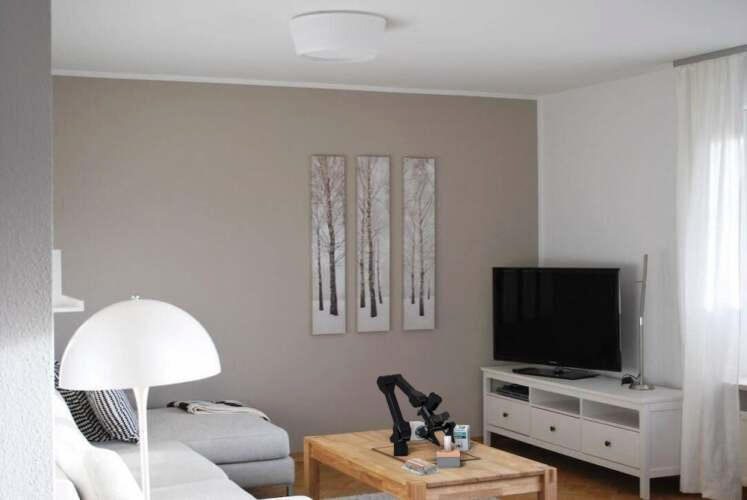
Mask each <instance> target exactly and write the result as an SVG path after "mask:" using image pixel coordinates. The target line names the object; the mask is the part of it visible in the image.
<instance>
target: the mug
mask: <svg viewBox="0 0 747 500" xmlns="http://www.w3.org/2000/svg"><path fill="white" fill-rule="evenodd" d="M408 422H409V423H410V427H411V429H412V430H411V431H412V434H411V438H410V441H409V442H411V441H412V442H416V441H417V442H419V441H423V440H425V439H424V438H421V437H420V435H419V432H420V431H421V430H422V428H423V427H424V426H426V425H425V424H424V423H425V421H424V422H423V421H416V420H415V421H408Z"/></svg>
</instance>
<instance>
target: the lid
mask: <svg viewBox="0 0 747 500" xmlns="http://www.w3.org/2000/svg"><path fill="white" fill-rule="evenodd" d="M443 443H444V444H443V447H444V448H443V449H435V453H436V458H437V457H461V453H460V451H459V449H455V448H454V449H453V448H452V442H451V436H445V435H444V436H443Z"/></svg>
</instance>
